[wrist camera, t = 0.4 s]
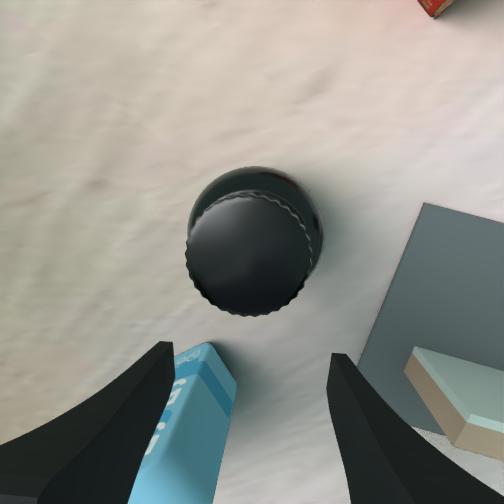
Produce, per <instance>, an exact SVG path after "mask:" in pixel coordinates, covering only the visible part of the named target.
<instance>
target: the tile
mask: <svg viewBox="0 0 504 504" xmlns="http://www.w3.org/2000/svg"><path fill="white" fill-rule="evenodd" d="M404 373H405V374H406V376H407V377H408V379H409V380H410V382H411V383H412V385H413V386H414V388H415V389H416V391H417V392H418V394H419V395H420V397H421V398H422V400H423V401H424V403H425V404H426V406H427V407H428V409H429V410H430V412H431V414H432V415H433V417H434V418H435V420H436V421H437V423H438V424H439V426H440V427H441V429H442V430H443V432H444V433H445V435H446V436H447V438H448V439H449V441H450V442H451V444H452V445H453V447H457V448H460V449H463V450H467V451H470V452H474V453H477V454H481V455H484V456H487V457H491V458H494V459H498V460H501V461H504V371H501V370H498V369H494V368H491V367H487V366H483V365H480V364H476V363H473V362H469V361H466V360H462V359H459V358H455V357H452V356H448V355H445V354H441V353H438V352H434V351H430V350H427V349H423V348H420V347H416V346H415V347H414V349H413V352H412V354H411V356H410V358H409V360H408V363H407V365H406V367H405V369H404Z"/></svg>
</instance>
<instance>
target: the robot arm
mask: <svg viewBox="0 0 504 504" xmlns="http://www.w3.org/2000/svg"><path fill="white" fill-rule="evenodd" d="M175 378H176V376H175V364H174V352H173V342H164V341H159V342H158V343H157V344H156V345H155V346H154V347H152V348H151V349H150V350H149V351H148V352H147V353H146V354H144V355H143V356H142V357H141V358H140V359H139V360H138V361H136V362H135V363H134V364H133V365H132V366H131V367H129V368H128V369H127V370H126V371H125V372H123V373H122V374H121V375H120V376H118V377H117V378H116V379H115V380H113V381H112V382H111V383H109V384H108V385H107V386H106V387H104V388H103V389H101V390H100V391H99V392H97V393H96V394H94V395H93V396H91V397H90V398H88V399H87V400H85V401H84V402H82V403H81V404H79V405H77V406H76V407H74V408H72V409H71V410H69V411H67V412H65V413H64V414H62V415H60V416H59V417H57V418H55V419H53V420H52V421H50V422H48V423H46V424H44V425H42V426H40V427H38V428H36V429H34V430H32V431H30V432H28V433H26V434H24V435H22V436H20V437H18V438H16V439H13V440H11V441H9V442H7V443H4V444H2V445H0V504H128V501H129V498H130V495H131V492H132V489H133V486H134V483H135V480H136V477H137V474H138V471H139V468H140V465H141V462H142V460H143V457H144V455H145V452H146V450H147V448H148V445H149V443H150V441H151V439H152V436H153V434H154V432H155V430H156V427H157V425H158V423H159V421H160V418H161V416H162V414H163V412H164V409H165V407H166V405H167V402H168V400H169V397H170V394H171V391H172V388H173V384H174V381H175ZM326 389H327V397H328V404H329V410H330V415H331V419H332V423H333V427H334V430H335V434H336V438H337V442H338V446H339V449H340V453H341V457H342V461H343V464H344V468H345V473H346V477H347V482H348V488H349V494H350V500H351V504H504V496H502V495H501V494H499V493H498V492H496V491H495V490H493V489H492V488H490V487H488V486H487V485H485V484H484V483H482V482H481V481H479V480H478V479H476V478H475V477H473V476H472V475H471V474H469V473H468V472H467V471H465V470H464V469H462V468H461V467H460V466H458V465H457V464H455V463H454V462H453V461H451V460H450V459H449V458H448V457H446V456H445V455H444V454H442V453H441V452H440V451H439V450H437V449H436V448H435V447H434V446H433V445H431V444H430V443H429V442H428V441H426V440H425V439H424V438H423V437H422V436H421V435H419V434H418V433H417V432H416V431H415V430H414V429H413V428H412V427H411V426H409V425H408V424H407V423H406V422H405V421H404V420H403V419H402V418H401V417H400V416H399V415H398V414H397V413H396V412H395V411H394V410H393V409H392V408H391V407H390V406H389V405H388V404H387V403H386V402H385V401H384V399H383V398H382V397H381V396H380V395H379V394H378V393H377V392H376V390H375V389H374V388H373V387H372V386H371V384H370V383H369V382H368V381H367V380H366V378H365V377H364V376H363V375H362V373H361V372H360V371H359V370H358V368H357V367H356V366H355V365H354V363H353V362H352V361H351V359H350V358H349V357H348V356H347V355H346V354H341V353H332V356H331V362H330V369H329V375H328V381H327V388H326Z"/></svg>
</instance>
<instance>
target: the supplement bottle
mask: <svg viewBox="0 0 504 504" xmlns="http://www.w3.org/2000/svg"><path fill="white" fill-rule="evenodd" d="M187 236H188V239H187V241H186V245H187V250H186V252H185V256H186V259H187V262H186V267H187V269H188V270H189V277H190V278H191V280H193V282H194V286H195V288H196V289H198V290H199V291H200V293H201V295H202V297H204V298H206V299H208V301H209V302H210V304H212V305H214V306H217V307H218V308H219V309H220V310H222V311H228V312H229V313H230V314H232V315H236V314H238V315H240V316H243V317H245V316H249V315H250V316H253V317H256V316H259V315H268V314H269V313H270V312H273V311H278V310H279V309H280V308H281V307H283V306H286V305H288V304H289V303H290V301H291V300H292V299H294V298H296V297H297V295H298V292H299V291H300V290H301V289H302V288H304V284H305V281H306V280H307V279H308V278H309V277H310V276H311V275H312V273H313V271H314V270H315V268H316V266H317V265H318V262H319V260H320V258H321V254H322V251H323V246H324V223H323V219H322V215H321V212H320V210H319V208H318V205H317V203H316V202H315V200H314V198H313V197H312V195H311V194H310V193H309V191H308V190H307V189H306V188H305V187H304V186H303V185H302V184H301V183H300V182H299V181H297V180H296V179H295V178H293V177H291V176H290V175H288V174H286V173H284V172H282V171H279V170H276V169H272V168H268V167H260V166H252V167H244V168H239V169H235V170H232V171H230V172H227V173H225V174H223V175H221V176H220V177H218V178H217V179H215V180H214V181H212V182H211V183H210V184H209V185H208V186H207V187H206V188H205V189H204V190H203V191H202V193H201V194H200V195H199V197H198V198H197V200H196V202H195V204H194V206H193V208H192V211H191V213H190V217H189V222H188V231H187Z"/></svg>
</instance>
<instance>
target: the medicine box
mask: <svg viewBox="0 0 504 504" xmlns="http://www.w3.org/2000/svg"><path fill="white" fill-rule="evenodd" d="M453 1H454V0H418V2H419V3H420V4H421V6H422V7H423V8H424V10H425V11H426V12H427V13H428V14H429V16H430V17H431V16H434V19H435V18H437V17H438V16H439V15H440V14H441V13H442V12H443V11H444V10H445V8H446V7H448V6H449V5H450V4H451V3H452V2H453Z"/></svg>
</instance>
